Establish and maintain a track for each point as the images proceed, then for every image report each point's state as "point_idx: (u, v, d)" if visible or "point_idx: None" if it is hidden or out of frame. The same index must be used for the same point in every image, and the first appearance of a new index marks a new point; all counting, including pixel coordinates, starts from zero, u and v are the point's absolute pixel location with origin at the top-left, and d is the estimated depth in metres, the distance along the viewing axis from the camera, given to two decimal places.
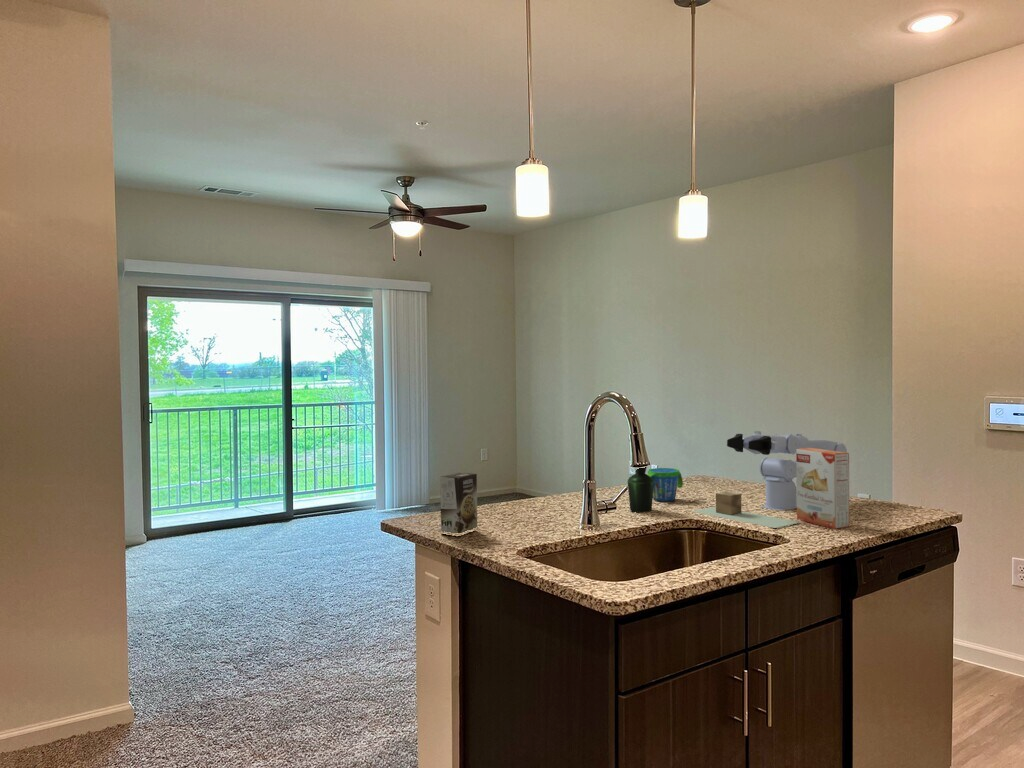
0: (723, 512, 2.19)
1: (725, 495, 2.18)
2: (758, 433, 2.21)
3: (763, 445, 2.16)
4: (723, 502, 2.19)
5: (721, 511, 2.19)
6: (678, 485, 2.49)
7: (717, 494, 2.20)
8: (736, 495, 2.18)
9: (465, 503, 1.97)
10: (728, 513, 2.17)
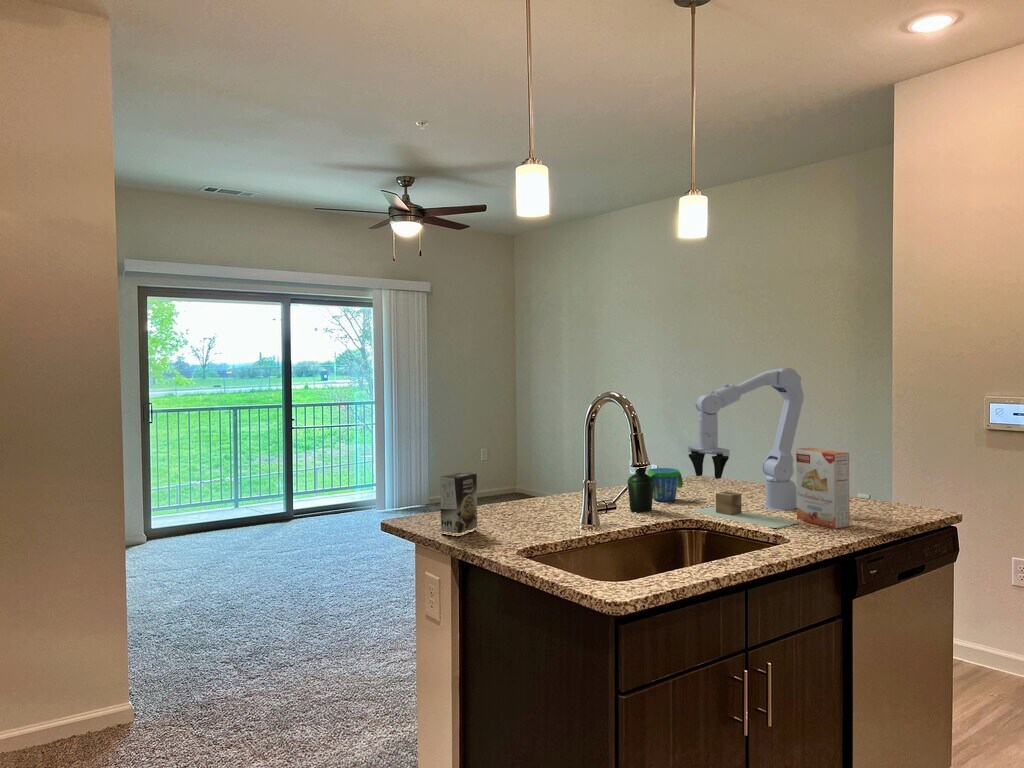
0: (723, 512, 2.19)
1: (725, 495, 2.18)
2: (702, 450, 2.24)
3: None
4: (723, 502, 2.19)
5: (721, 511, 2.19)
6: (678, 485, 2.49)
7: (717, 494, 2.20)
8: (736, 495, 2.18)
9: (465, 503, 1.97)
10: (728, 513, 2.17)
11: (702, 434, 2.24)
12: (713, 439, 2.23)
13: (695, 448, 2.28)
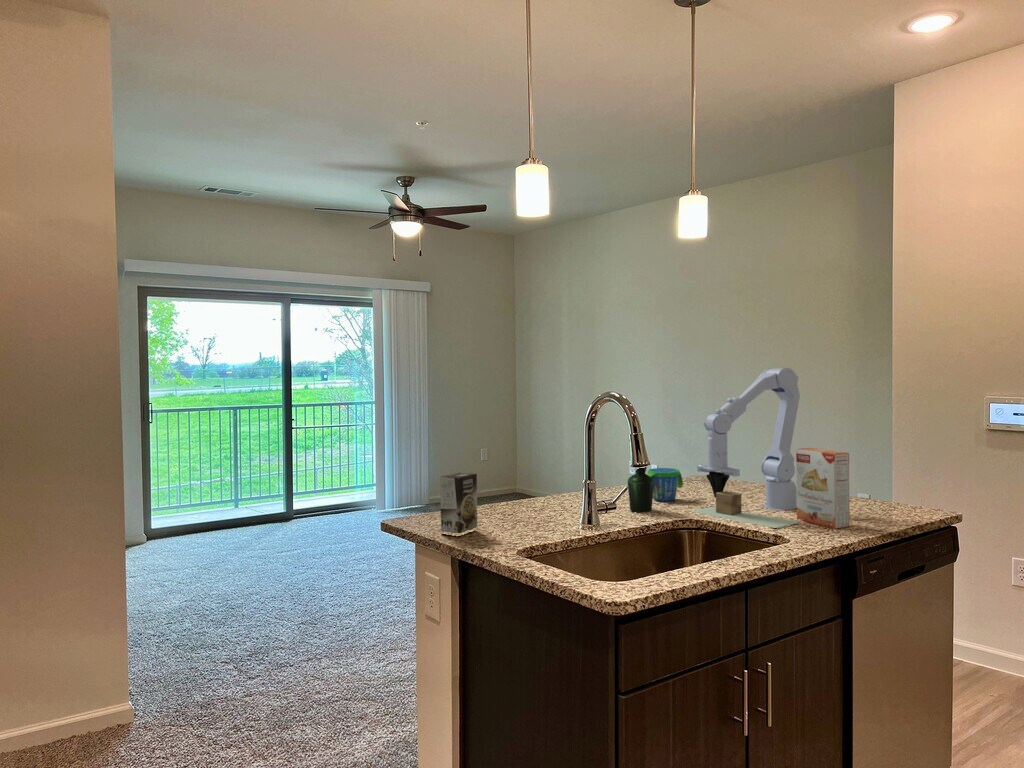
0: (723, 512, 2.19)
1: (725, 495, 2.18)
2: (712, 470, 2.21)
3: None
4: (723, 502, 2.19)
5: (721, 511, 2.19)
6: (678, 485, 2.49)
7: (717, 494, 2.20)
8: (736, 495, 2.18)
9: (465, 503, 1.97)
10: (728, 513, 2.17)
11: (712, 454, 2.21)
12: (723, 458, 2.20)
13: (704, 468, 2.25)
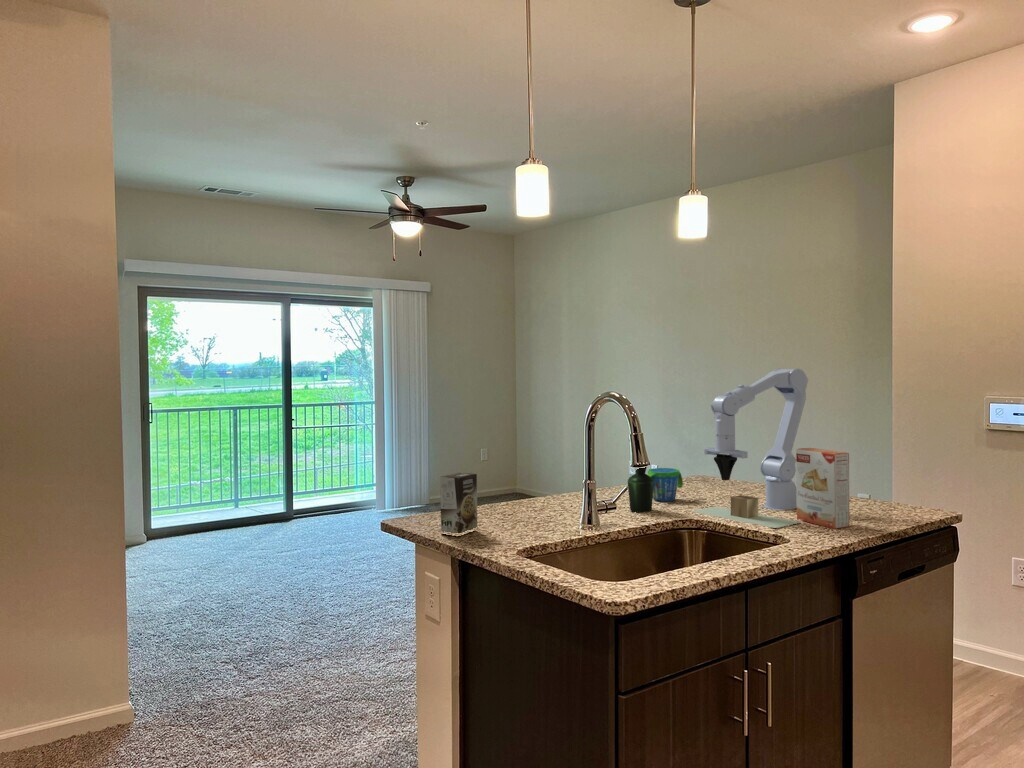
0: (731, 506, 2.16)
1: (746, 511, 2.12)
2: (719, 452, 2.18)
3: None
4: (740, 508, 2.14)
5: (732, 504, 2.16)
6: (678, 485, 2.49)
7: (746, 501, 2.12)
8: None
9: (465, 503, 1.97)
10: (731, 512, 2.16)
11: (719, 436, 2.19)
12: (731, 440, 2.18)
13: (712, 450, 2.22)
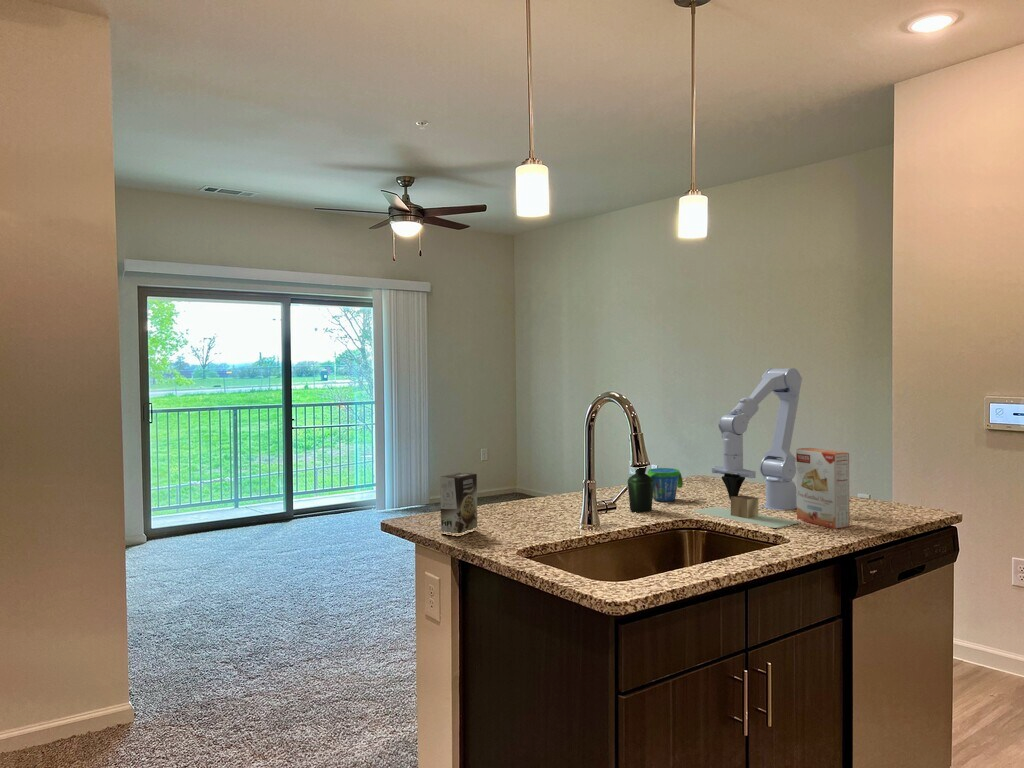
0: (731, 506, 2.16)
1: (746, 511, 2.12)
2: None
3: None
4: (740, 508, 2.14)
5: (732, 504, 2.16)
6: (678, 485, 2.49)
7: (746, 501, 2.12)
8: None
9: (465, 503, 1.97)
10: (731, 512, 2.16)
11: (727, 455, 2.17)
12: (739, 460, 2.16)
13: (719, 469, 2.20)
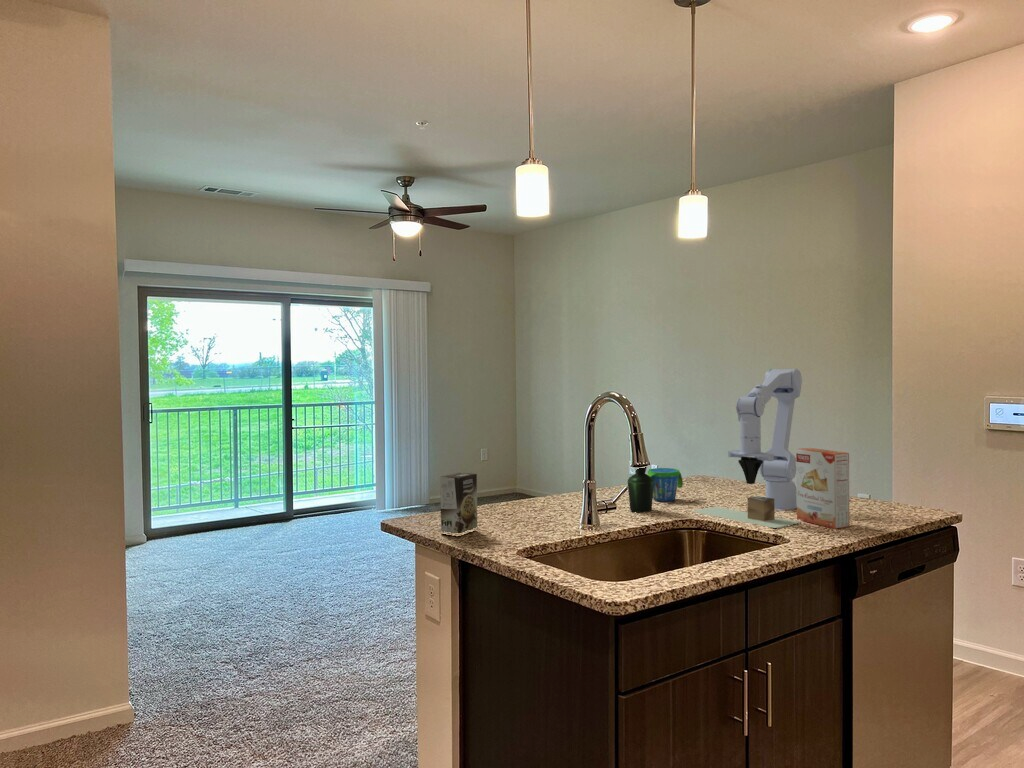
0: (755, 500, 2.09)
1: (753, 518, 2.10)
2: (745, 455, 2.11)
3: None
4: (755, 511, 2.09)
5: (757, 501, 2.09)
6: (678, 485, 2.49)
7: (761, 519, 2.08)
8: None
9: (465, 503, 1.97)
10: (749, 499, 2.11)
11: (744, 438, 2.11)
12: (756, 443, 2.10)
13: (736, 453, 2.15)
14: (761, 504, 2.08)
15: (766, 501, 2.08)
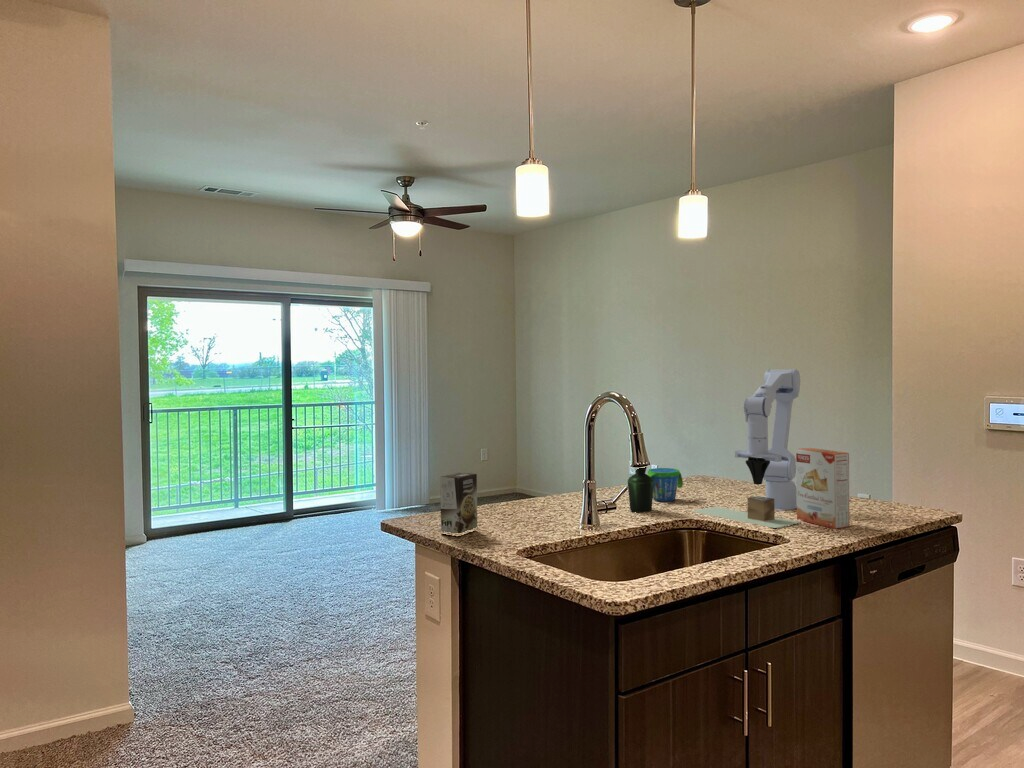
0: (755, 500, 2.09)
1: (753, 518, 2.10)
2: None
3: None
4: (755, 511, 2.09)
5: (757, 501, 2.09)
6: (678, 485, 2.49)
7: (761, 519, 2.08)
8: None
9: (465, 503, 1.97)
10: (749, 499, 2.11)
11: (751, 438, 2.11)
12: (764, 443, 2.10)
13: (743, 453, 2.14)
14: (761, 504, 2.08)
15: (766, 501, 2.08)
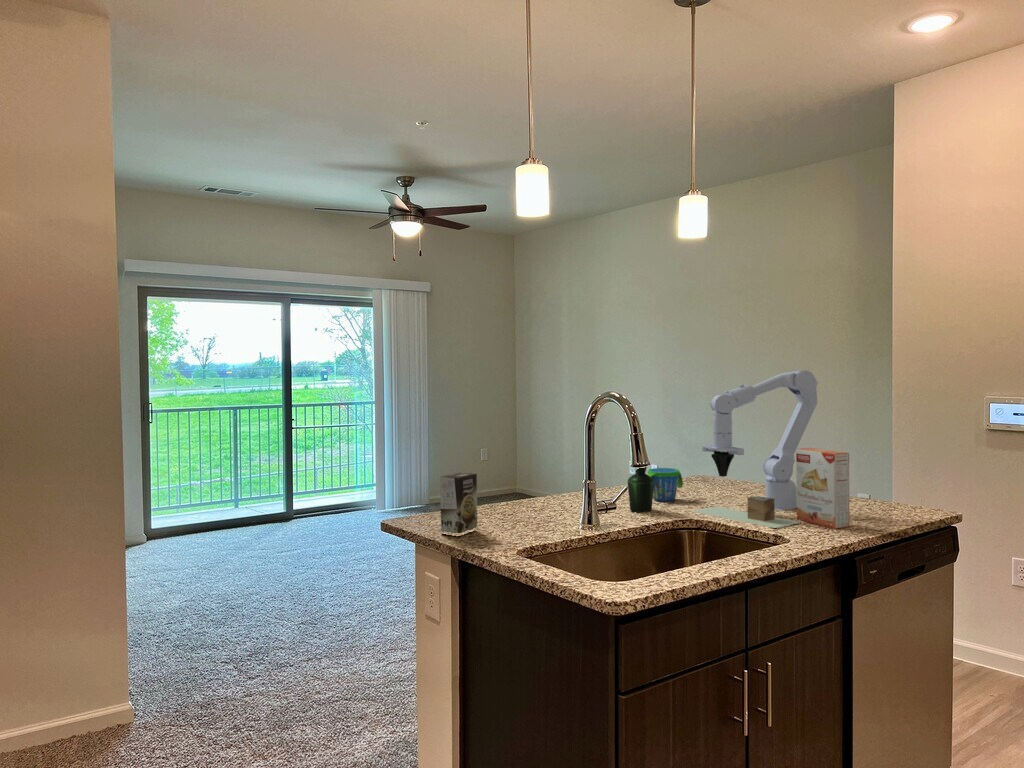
0: (755, 500, 2.09)
1: (753, 518, 2.10)
2: None
3: None
4: (755, 511, 2.09)
5: (757, 501, 2.09)
6: (678, 485, 2.49)
7: (761, 519, 2.08)
8: None
9: (465, 503, 1.97)
10: (749, 499, 2.11)
11: (716, 433, 2.26)
12: (728, 438, 2.25)
13: (709, 447, 2.29)
14: (761, 504, 2.08)
15: (766, 501, 2.08)
